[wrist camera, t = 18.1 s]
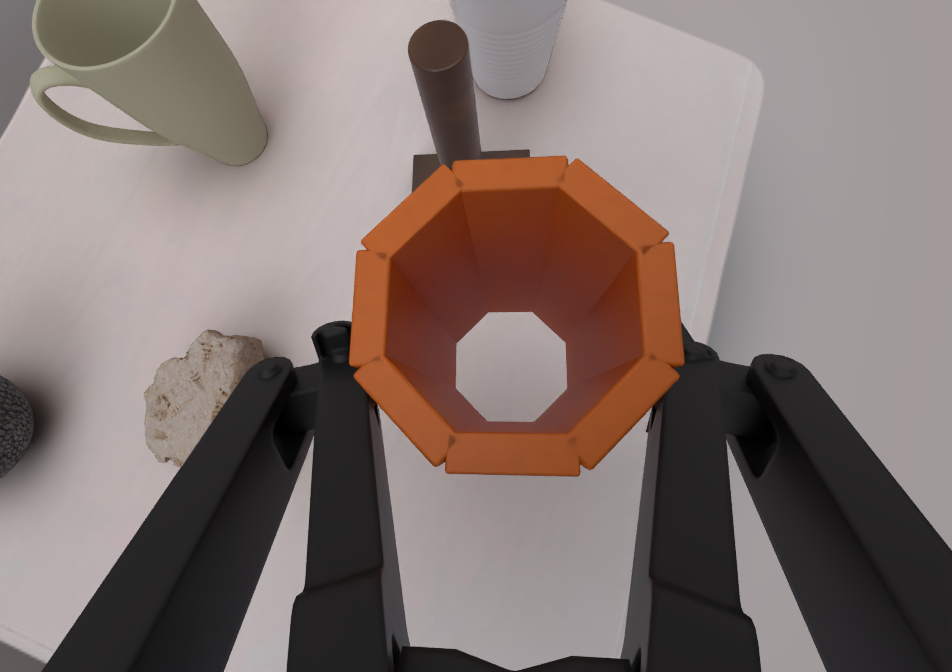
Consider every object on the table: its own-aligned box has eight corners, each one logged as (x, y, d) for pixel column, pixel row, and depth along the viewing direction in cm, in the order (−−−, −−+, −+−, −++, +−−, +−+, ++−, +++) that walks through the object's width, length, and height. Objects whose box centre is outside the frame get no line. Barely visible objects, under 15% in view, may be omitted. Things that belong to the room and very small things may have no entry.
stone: (278, 332, 31) (235, 318, 26) (302, 483, 29) (260, 497, 24) (172, 362, 32) (109, 353, 27) (187, 513, 29) (122, 533, 24)
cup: (594, 71, 33) (634, -93, 22) (501, 145, 33) (497, 13, 22) (515, 1, 35) (517, -181, 24) (427, 69, 35) (389, -86, 24)
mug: (214, 81, 36) (72, -78, 25) (308, 112, 35) (204, -41, 23) (153, 185, 35) (-29, 69, 23) (248, 222, 33) (105, 119, 22)
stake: (528, 161, 32) (542, -51, 17) (530, 268, 30) (548, 133, 16) (417, 166, 33) (342, -33, 18) (413, 271, 31) (326, 145, 17)
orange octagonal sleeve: (580, 295, 19) (667, 149, 9) (586, 440, 18) (697, 479, 7) (441, 297, 20) (360, 162, 9) (437, 438, 19) (339, 471, 8)
